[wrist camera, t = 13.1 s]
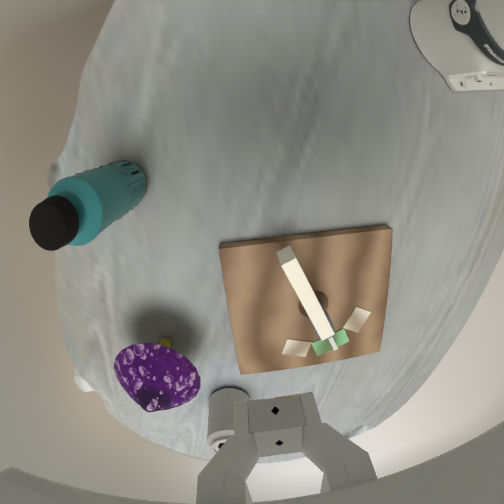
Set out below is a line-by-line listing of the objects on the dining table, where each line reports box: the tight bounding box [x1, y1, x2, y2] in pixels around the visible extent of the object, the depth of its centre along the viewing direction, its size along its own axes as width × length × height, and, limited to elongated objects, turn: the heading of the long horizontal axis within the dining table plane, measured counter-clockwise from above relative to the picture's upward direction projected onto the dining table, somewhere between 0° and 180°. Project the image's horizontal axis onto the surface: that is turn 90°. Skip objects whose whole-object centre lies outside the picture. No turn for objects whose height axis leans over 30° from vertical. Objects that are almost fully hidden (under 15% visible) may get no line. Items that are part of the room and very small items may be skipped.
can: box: [207, 388, 250, 454], centre depth 46 cm, size 8×8×12 cm
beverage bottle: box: [29, 160, 146, 251], centre depth 28 cm, size 6×7×20 cm
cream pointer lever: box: [276, 245, 338, 351], centre depth 39 cm, size 20×3×7 cm, turn 29°
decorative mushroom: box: [114, 338, 200, 412], centre depth 39 cm, size 12×12×15 cm
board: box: [219, 225, 393, 375], centre depth 44 cm, size 24×22×2 cm
